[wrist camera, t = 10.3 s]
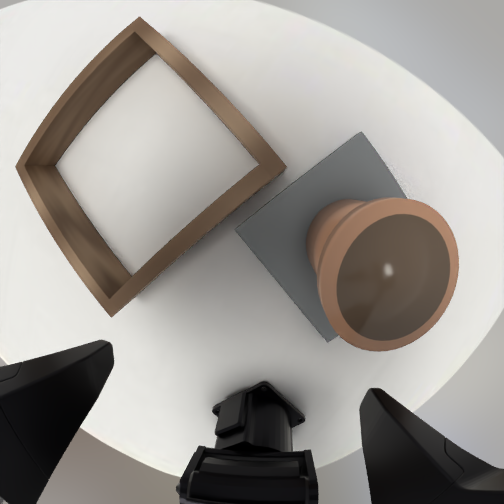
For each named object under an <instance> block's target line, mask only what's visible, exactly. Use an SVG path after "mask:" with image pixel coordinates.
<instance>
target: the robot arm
mask: <svg viewBox="0 0 504 504" xmlns="http://www.w3.org/2000/svg"><path fill="white" fill-rule="evenodd" d="M113 366H114V355H113V347H112V344H111V343H110V342H107V341H105V340H98V341H95V342H91V343H88V344H84V345H81V346H78V347H74V348H71V349H67V350H64V351H60V352H56V353H53V354H49V355H46V356H42V357H38V358H34V359H31V360H27V361H23V363H22V362H19V363H15V364H11V365H7V366H2V367H0V504H3V502H4V501H6V502H7V503H8V504H36V503H37V501H38V499H39V497H40V495H41V493H42V492H43V490H44V488H45V486H46V484H47V482H48V481H49V480H48V479H50V477H51V475H52V473H53V471H54V469H55V468H56V466H57V464H58V463H59V461H60V459H61V457H62V456H63V454H64V452H65V451H66V449H67V447H68V446H69V444H70V442H71V441H72V439H73V437H74V435H75V433H76V432H77V431H78V429H79V427H80V426H81V424H82V423H83V421H84V419H85V418H86V416H87V415H88V413H89V411H90V410H91V408H92V407H93V405H94V404H95V402H96V400H97V399H98V397H99V395H100V393H101V391H102V389H103V387H104V385H105V383H106V381H107V379H108V377H109V375H110V373H111V371H112V369H113ZM262 387H266V388H262ZM217 410H218V411H217ZM359 411H360V423H361V437H362V447H363V453H364V458H365V464H366V469H367V476H368V482H369V488H370V495H371V502H372V504H504V469H499V468H496V467H494V466H491V465H490V464H488V463H486V462H484V461H483V460H481V459H479V458H477V457H475V456H474V455H472V454H470V453H469V452H467V451H465V450H463V449H461V448H460V447H459V446H457V445H456V444H454V443H453V442H452V441H450V440H449V439H447V438H445V437H444V436H443V435H442V434H441V433H439V432H438V431H436V430H435V429H434V428H432V427H431V426H430V425H428V424H427V423H426V422H424V421H423V420H422V419H420V418H419V417H418V416H416V415H415V414H414V413H412V412H411V411H410V410H408V409H407V408H406V407H404V406H403V405H402V404H400V403H399V402H398V401H396V400H395V399H394V398H392V397H391V396H390V395H388V394H387V393H386V392H385V391H383V390H382V389H380V388H370V389H369V390H368V391H367V393H366V395H365V397H364V399H363V401H362V403H361V405H360V410H359ZM212 412H213V413H214V414H215V415H216V416H217V417H218V421H217V425H216V429H215V435H216V436H217V440H216V444H215V448H207V447H206V446H198V448H197V450H196V452H194V454H193V456H192V458H191V460H190V462H189V464H188V466H187V468H186V470H185V471H184V473H183V475H182V477H181V479H180V482H179V483H178V485H177V486H176V491H177V493H178V494H179V495H180V504H318V482H317V476H316V472H315V467H314V462H313V457H312V453H311V450H304V451H293V444H292V428H293V427H295V426H297V425H299V424H301V423H303V422H305V416H304V415H303V414H302V413H301V412H300V411H299V410H297V409H296V408H295V407H294V406H293V405H292V404H291V403H290V402H288V401H287V400H286V399H285V398H284V397H283V396H282V395H281V394H280V393H279V392H278V391H276V390H275V389H274V388H273V387H272V386H271V385H270V384H269V383H267V382H261V383H259V384H258V385H256V386H254V387H252V388H250V389H248V390H246V391H244V392H240V393H239V394H237V395H235V396H233V397H231V398H229V399H227V400H225V401H223V402H222V403H220V404H218V405H216V406H214V407H213V410H212Z"/></svg>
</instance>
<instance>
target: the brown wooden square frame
mask: <svg viewBox="0 0 504 504" xmlns="http://www.w3.org/2000/svg"><path fill="white" fill-rule="evenodd" d="M156 53H157V54H158V55H159V56H160V57H161V58H162V59H163V60H164V61H165V62H166V63H167V64H168V65H169V66H170V67H171V68H172V69H173V70H174V71H175V72H176V73H177V74H178V75H179V76H180V77H181V78H182V79H183V80H184V81H185V82H186V83H187V84H188V85H189V87H190V88H191V89H192V90H193V91H194V92H195V93H196V94H197V95H198V96H199V97H200V98H201V99H202V100H203V101H204V102H205V103H206V105H207V106H208V107H209V108H210V109H211V110H212V111H213V112H214V113H215V114H216V115H217V117H218V118H219V119H220V120H221V121H222V122H223V123H224V124H225V125H226V127H227V128H228V129H229V130H230V131H231V132H232V133H233V134H234V136H235V137H236V138H237V139H238V140H239V141H240V142H241V144H242V145H243V146H244V147H245V148H246V149H247V151H248V152H249V153H250V154H251V155H252V156H253V158H254V159H255V160H256V161H257V162H258V164H259V165H258V166H257V167H256V168H254V169H253V170H252V171H251V172H249V173H248V174H247V175H246V176H244V177H243V178H242V179H241V180H240V181H238V182H237V183H236V184H235V185H233V186H232V187H231V188H230V189H229V190H227V191H226V192H225V193H224V194H223V195H221V196H220V197H219V198H218V199H217V200H216V201H214V202H213V203H212V204H211V205H210V206H209V207H207V208H206V209H205V210H204V211H203V212H202V213H200V214H199V215H198V216H197V217H196V218H195V219H194V220H192V221H191V222H190V223H189V224H188V225H187V226H186V227H185V228H184V229H182V230H181V231H180V232H179V233H178V234H177V235H176V236H175V237H174V238H172V239H171V240H170V241H169V242H168V243H167V244H166V245H165V246H164V247H163V248H162V249H161V250H159V251H158V252H157V253H156V254H155V255H154V256H153V257H152V258H151V259H150V260H149V261H148V262H147V263H146V264H145V265H144V266H143V267H141V268H140V269H139V270H138V271H137V272H136V273H135V274H134V275H133V276H132V277H131V275H130V274H129V273H128V272H127V270H126V269H125V268H124V267H123V265H122V264H121V263H120V261H119V260H118V259H117V258H116V256H115V255H114V254H113V252H112V251H111V250H110V248H109V247H108V246H107V244H106V243H105V242H104V240H103V239H102V237H101V236H100V235H99V233H98V232H97V230H96V229H95V228H94V226H93V225H92V223H91V222H90V220H89V219H88V218H87V216H86V215H85V213H84V212H83V210H82V209H81V207H80V206H79V204H78V203H77V201H76V199H75V198H74V196H73V195H72V193H71V192H70V190H69V188H68V187H67V185H66V184H65V182H64V180H63V179H62V177H61V175H60V174H59V172H58V170H57V168H56V167H55V165H56V163H57V162H58V160H59V159H60V157H61V156H62V155H63V153H64V152H65V150H66V149H67V148H68V146H69V145H70V144H71V142H72V141H73V140H74V138H75V137H76V136H77V134H78V133H79V132H80V131H81V129H82V128H83V127H84V126H85V124H86V123H87V122H88V121H89V120H90V118H91V117H92V116H93V115H94V114H95V113H96V111H97V110H98V109H99V108H100V107H101V106H102V105H103V104H104V103H105V101H106V100H107V99H108V98H109V97H110V96H111V95H112V94H113V93H114V92H115V91H116V90H117V89H118V88H119V87H120V86H121V85H122V84H123V83H124V82H125V81H126V80H127V79H128V78H129V77H130V76H131V75H132V74H133V73H134V72H135V71H136V70H137V69H138V68H140V67H141V66H142V65H143V64H144V63H145V62H146V61H147V60H149V59H150V58H151V57H152V56H153V55H154V54H156ZM15 167H16V169H17V172H18V174H19V176H20V178H21V180H22V182H23V184H24V186H25V188H26V190H27V192H28V194H29V196H30V198H31V200H32V202H33V204H34V206H35V208H36V209H37V211H38V213H39V215H40V216H41V218H42V220H43V222H44V223H45V225H46V227H47V229H48V230H49V232H50V233H51V235H52V237H53V238H54V240H55V242H56V243H57V245H58V246H59V248H60V249H61V251H62V252H63V254H64V255H65V257H66V258H67V260H68V261H69V263H70V264H71V266H72V267H73V269H74V270H75V271H76V273H77V274H78V276H79V277H80V278H81V280H82V281H83V282H84V284H85V285H86V286H87V288H88V289H89V290H90V292H91V293H92V294H93V296H94V297H95V298H96V300H97V301H98V302H99V303H100V305H101V306H102V307H103V308H104V309H105V311H106V312H107V313H108V314H109V316H110V317H111V318H112V317H113V316H114V315H115V314H116V313H117V312H118V311H120V310H121V309H122V308H123V307H124V306H125V305H127V304H128V303H129V302H130V301H131V300H132V299H134V298H135V297H136V296H137V295H138V294H139V293H140V292H141V291H142V290H143V289H145V288H146V287H147V286H148V285H149V284H150V283H151V282H152V281H153V280H155V279H156V278H157V277H158V276H159V275H160V274H161V273H162V272H163V271H165V270H166V269H167V268H168V267H169V266H170V265H171V264H173V263H174V262H175V261H176V260H177V259H178V258H179V257H181V256H182V255H183V254H184V253H185V252H186V251H187V250H189V249H190V248H191V247H192V246H193V245H194V244H196V243H197V242H198V241H199V240H200V239H201V238H203V237H204V236H205V235H206V234H207V233H208V232H210V231H211V230H212V229H213V228H214V227H216V226H217V225H218V224H219V223H220V222H222V221H223V220H224V219H225V218H226V217H228V216H229V215H230V214H231V213H232V212H234V211H235V210H236V209H237V208H239V207H240V206H241V205H242V204H243V203H245V202H246V201H247V200H248V199H250V198H251V197H252V196H253V195H255V194H256V193H257V192H258V191H260V190H261V189H262V188H263V187H265V186H266V185H267V184H268V183H270V182H271V181H272V180H273V179H275V178H276V177H277V176H279V175H280V174H281V173H282V172H284V170H285V169H286V168H287V166H286V165H285V164H284V163H283V161H282V160H281V159H280V158H279V157H278V155H277V154H276V153H275V152H274V151H273V149H272V148H271V147H270V146H269V145H268V143H267V142H266V141H265V140H264V139H263V138H262V137H261V135H260V134H259V133H258V132H257V131H256V130H255V129H254V127H253V126H252V125H251V124H250V123H249V122H248V121H247V120H246V119H245V117H244V116H243V115H242V114H241V113H240V112H239V111H238V110H237V109H236V108H235V107H234V105H233V104H232V103H231V102H230V101H229V100H228V99H227V98H226V97H225V96H224V95H223V94H222V93H221V92H220V91H219V90H218V89H217V88H216V87H215V86H214V85H213V84H212V83H211V82H210V81H209V80H208V79H207V78H206V77H205V76H204V75H203V74H202V73H201V72H200V71H199V70H198V69H197V68H196V67H195V66H194V65H193V64H192V63H191V62H190V61H189V60H188V59H187V58H186V57H185V56H184V55H183V54H182V53H181V52H179V51H178V50H177V49H176V48H175V47H174V46H173V45H172V44H171V43H170V42H169V41H167V40H166V39H165V38H164V37H163V36H162V35H161V34H160V33H158V32H157V31H156V30H155V29H154V28H153V27H151V26H150V25H149V24H148V23H147V22H145V21H144V20H143V19H142V18H141V17H138V18H137V19H136V20H135V21H133V22H132V23H131V24H130V25H129V26H127V27H126V28H125V29H124V30H123V31H122V32H121V33H119V34H118V35H117V36H116V37H115V38H114V39H113V40H112V41H111V42H110V43H109V44H108V45H107V46H106V47H105V48H103V49H102V50H101V51H100V52H99V53H98V54H97V55H96V57H95V58H94V59H93V60H92V61H91V62H90V63H89V64H88V65H87V66H86V67H85V68H84V69H83V70H82V72H81V73H80V74H79V75H78V76H77V77H76V78H75V80H74V81H73V82H72V83H71V84H70V86H69V87H68V88H67V89H66V90H65V92H64V93H63V94H62V96H61V97H60V98H59V99H58V101H57V102H56V103H55V105H54V106H53V107H52V109H51V110H50V112H49V113H48V114H47V116H46V117H45V119H44V120H43V122H42V123H41V125H40V126H39V128H38V129H37V131H36V132H35V134H34V135H33V137H32V138H31V140H30V142H29V143H28V145H27V147H26V148H25V150H24V152H23V154H22V155H21V157H20V159H19V161H18V163H17V164H16V166H15Z"/></svg>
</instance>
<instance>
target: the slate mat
mask: <svg viewBox="0 0 504 504" xmlns="http://www.w3.org/2000/svg"><path fill="white" fill-rule="evenodd" d="M384 197H395V198H403V199H407V197H406V196H405V194H404V193H403V191H402V189H401V188H400V186H399V184H398V183H397V181H396V180H395V178H394V177H393V175H392V174H391V172H390V171H389V169H388V168H387V166H386V165H385V163H384V162H383V160H382V159H381V157H380V156H379V154H378V153H377V152H376V150H375V149H374V147H373V146H372V145H371V143H370V142H369V141H368V139H367V138H366V137H365V135H364V134H363V133H362V132H360V133H358V134H357V135H356V136H354V137H353V138H352V139H350V140H349V141H348V142H346V143H345V144H344V145H342V146H341V147H340V148H338V149H337V150H336V151H334V152H333V153H332V154H330V155H329V156H328V157H326V158H325V159H324V160H322V161H321V162H320V163H318V164H317V165H316V166H315V167H313V168H312V169H311V170H309V171H308V172H307V173H305V174H304V175H303V176H302V177H300V178H299V179H298V180H296V181H295V182H294V183H293V184H291V185H290V186H289V187H287V188H286V189H285V190H284V191H282V192H281V193H280V194H278V195H277V196H276V197H275V198H273V199H272V200H271V201H270V202H268V203H267V204H266V205H265V206H263V207H262V208H261V209H260V210H258V211H257V212H256V213H255V214H253V215H252V216H251V217H250V218H248V219H247V220H246V221H245V222H243V223H242V224H241V225H240V226H238V227H237V228H236V229H235V231H236V232H237V233H238V234H239V236H240V237H241V238H242V239H243V241H244V242H245V243H246V244H247V245H248V247H249V248H250V249H251V250H252V252H253V253H254V254H255V255H256V256H257V258H258V259H259V260H260V261H261V262H262V264H263V265H264V266H265V267H266V269H267V270H268V271H269V272H270V273H271V275H272V276H273V277H274V278H275V279H276V281H277V282H278V283H279V284H280V286H281V287H282V288H283V289H284V290H285V292H286V293H287V294H288V295H289V297H290V298H291V299H292V300H293V301H294V303H295V304H296V305H297V306H298V307H299V309H300V310H301V311H302V312H303V314H304V315H305V316H306V317H307V318H308V320H309V321H310V322H311V323H312V324H313V326H314V327H315V328H316V329H317V331H318V332H319V333H320V334H321V335H322V337H323V338H324V339H325V340H326V342H327V343H328V342H329V341H331V340H332V339H334V338H335V337H337V336H338V334H337V333H336V332H335V330H334V329H333V327H332V326H331V324H330V322H329V320H328V318H327V316H326V314H325V311H324V309H323V307H322V304H321V301H320V298H319V294H318V288H317V275H316V273H315V271H314V270H313V268H312V266H311V264H310V262H309V259H308V256H307V252H306V237H307V232H308V229H309V226H310V224H311V222H312V220H313V219H314V217H315V216H316V215H317V214H318V212H319V211H320V210H322V209H323V208H324V207H325V206H327V205H328V204H330V203H332V202H335V201H338V200H342V199H356V200H362V201H371V200H374V199H378V198H384Z"/></svg>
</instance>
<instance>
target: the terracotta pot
mask: <svg viewBox="0 0 504 504" xmlns="http://www.w3.org/2000/svg"><path fill="white" fill-rule="evenodd" d="M306 252H307V256H308V259H309V262H310V264H311V266H312V268H313V270H314V271H315V273H316V275H317V288H318V294H319V298H320V301H321V304H322V307H323V309H324V311H325V314H326V316H327V318H328V320H329V322H330V324H331V326H332V327H333V329H334V330H335V332H336V333H337V334H338V335H339V336H340V337H341V338H342V339H344V340H345V341H346V342H348V343H349V344H351V345H353V346H355V347H358V348H360V349H363V350H368V351H389V350H394V349H397V348H400V347H403V346H406V345H408V344H410V343H412V342H414V341H415V340H417V339H419V338H420V337H421V336H423V335H424V334H425V333H426V332H428V331H429V330H430V329H431V328H432V327H433V326H434V325H435V324H436V322H437V321H438V320H439V319H440V317H441V316H442V315H443V313H444V312H445V310H446V308H447V306H448V305H449V303H450V300H451V298H452V296H453V293H454V290H455V287H456V283H457V278H458V270H459V256H458V249H457V244H456V240H455V238H454V235H453V233H452V231H451V229H450V227H449V225H448V224H447V222H446V221H445V220H444V218H443V217H442V216H441V215H440V214H439V213H438V212H437V211H436V210H434V209H433V208H431V207H430V206H428V205H426V204H424V203H422V202H419V201H416V200H411V199H403V198H395V197H384V198H378V199H374V200H371V201H362V200H356V199H342V200H338V201H335V202H332V203H330V204H328V205H327V206H325V207H324V208H323V209H322V210H320V211H319V212H318V214H317V215H316V216H315V217H314V219H313V220H312V222H311V224H310V226H309V229H308V232H307V237H306Z"/></svg>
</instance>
